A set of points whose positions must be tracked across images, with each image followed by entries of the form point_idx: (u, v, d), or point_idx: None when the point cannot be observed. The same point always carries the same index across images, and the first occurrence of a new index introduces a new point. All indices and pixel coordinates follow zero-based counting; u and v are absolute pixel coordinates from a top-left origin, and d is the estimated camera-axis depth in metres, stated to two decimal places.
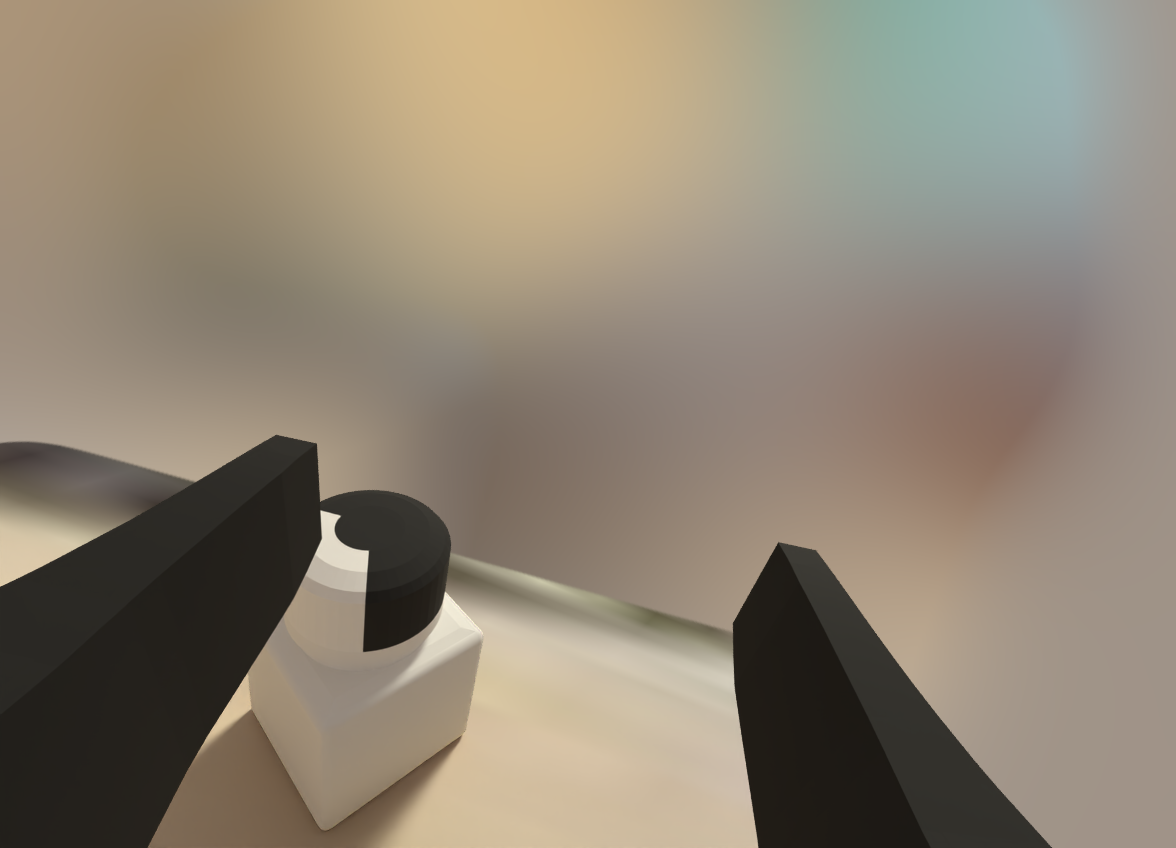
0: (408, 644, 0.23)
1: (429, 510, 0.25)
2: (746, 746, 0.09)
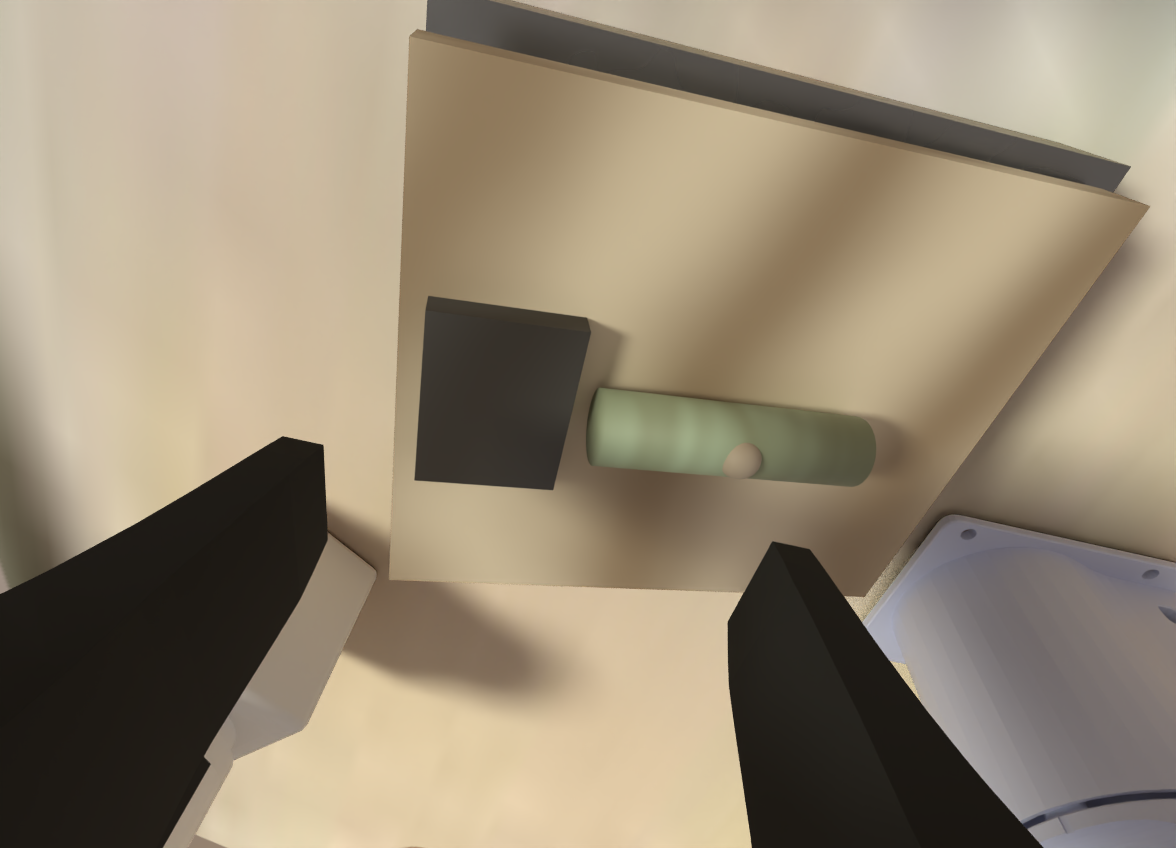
0: None
1: None
2: (740, 745, 0.09)
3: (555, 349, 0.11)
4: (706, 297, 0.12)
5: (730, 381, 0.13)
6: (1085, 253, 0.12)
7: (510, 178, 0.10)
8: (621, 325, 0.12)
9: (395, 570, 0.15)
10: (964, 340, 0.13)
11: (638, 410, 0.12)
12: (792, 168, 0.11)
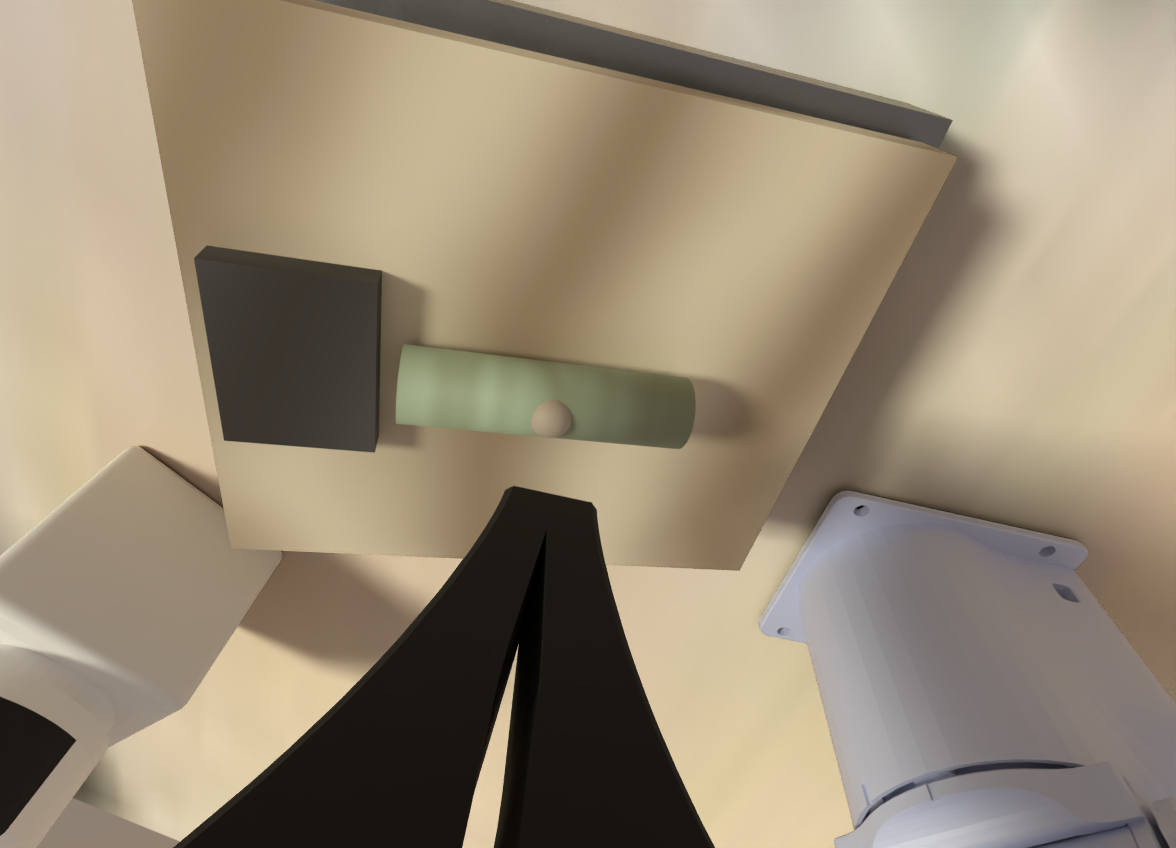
0: (39, 702, 0.18)
1: None
2: (513, 701, 0.09)
3: (343, 301, 0.11)
4: (504, 250, 0.12)
5: (549, 340, 0.13)
6: (899, 207, 0.12)
7: (268, 120, 0.10)
8: (420, 279, 0.12)
9: (235, 538, 0.15)
10: (790, 298, 0.13)
11: (435, 366, 0.12)
12: (567, 112, 0.10)
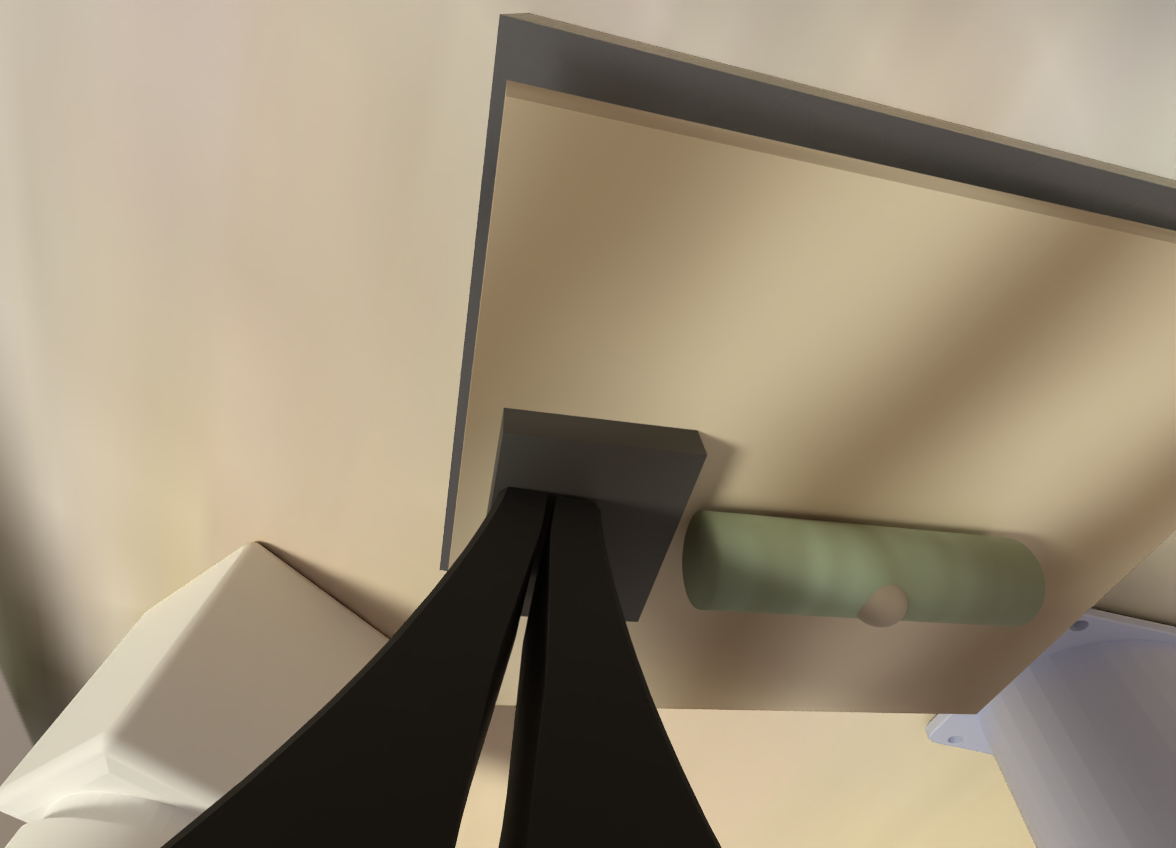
0: None
1: None
2: (517, 701, 0.09)
3: (660, 474, 0.09)
4: (847, 406, 0.09)
5: (861, 498, 0.11)
6: None
7: (620, 272, 0.08)
8: (738, 438, 0.10)
9: None
10: (1154, 451, 0.11)
11: (758, 547, 0.10)
12: (982, 257, 0.08)
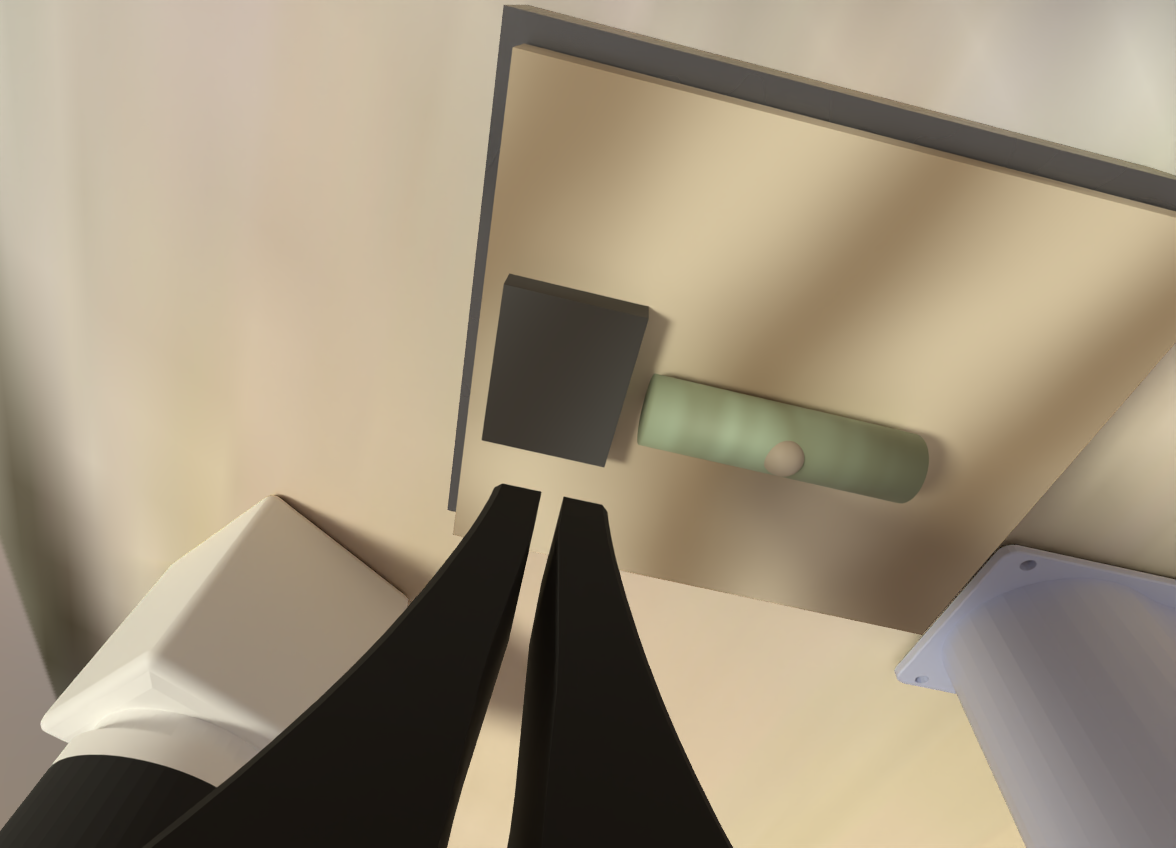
0: (216, 774, 0.17)
1: None
2: (524, 703, 0.09)
3: (615, 331, 0.13)
4: (764, 297, 0.13)
5: (784, 383, 0.14)
6: None
7: (588, 173, 0.11)
8: (680, 317, 0.13)
9: (459, 526, 0.17)
10: (1040, 367, 0.13)
11: (685, 396, 0.13)
12: (855, 178, 0.11)
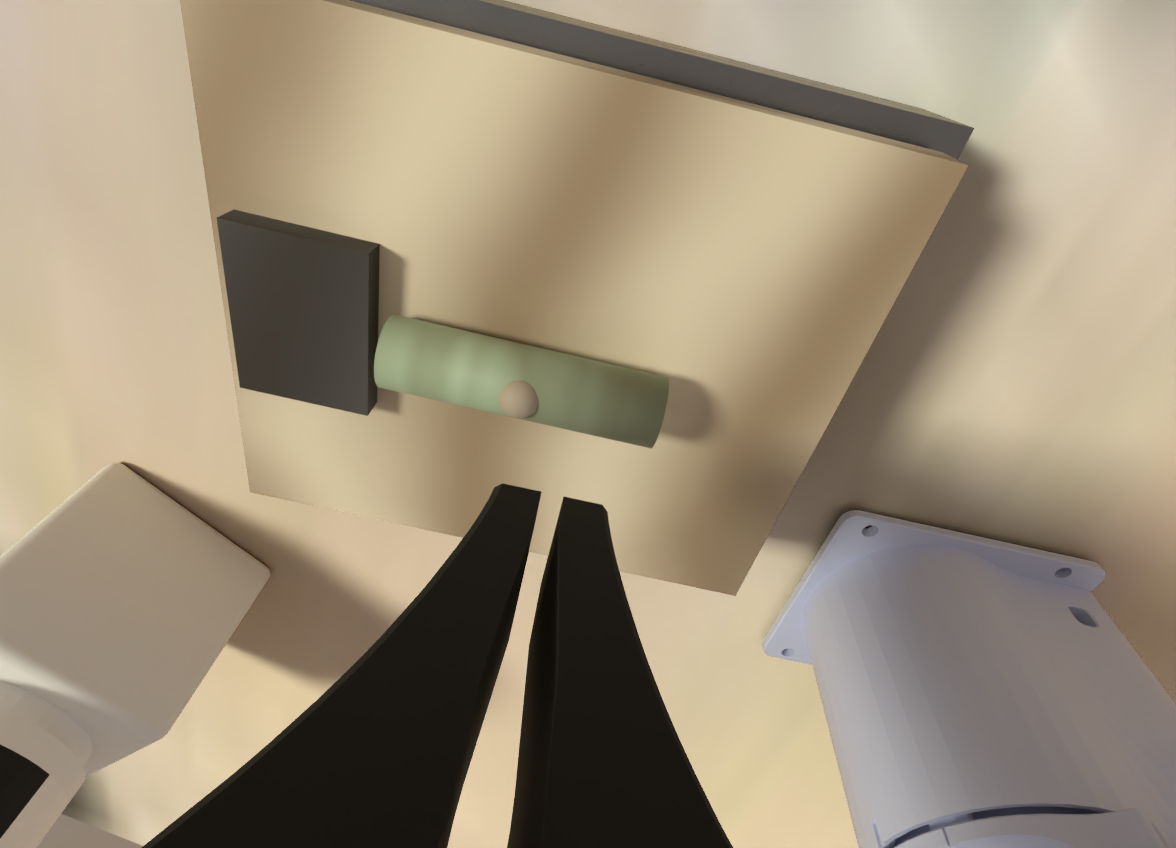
0: (9, 735, 0.17)
1: None
2: (524, 703, 0.09)
3: (339, 267, 0.12)
4: (490, 232, 0.12)
5: (533, 325, 0.13)
6: (901, 216, 0.11)
7: (284, 99, 0.11)
8: (413, 254, 0.13)
9: (254, 483, 0.17)
10: (780, 306, 0.13)
11: (414, 335, 0.12)
12: (548, 101, 0.11)
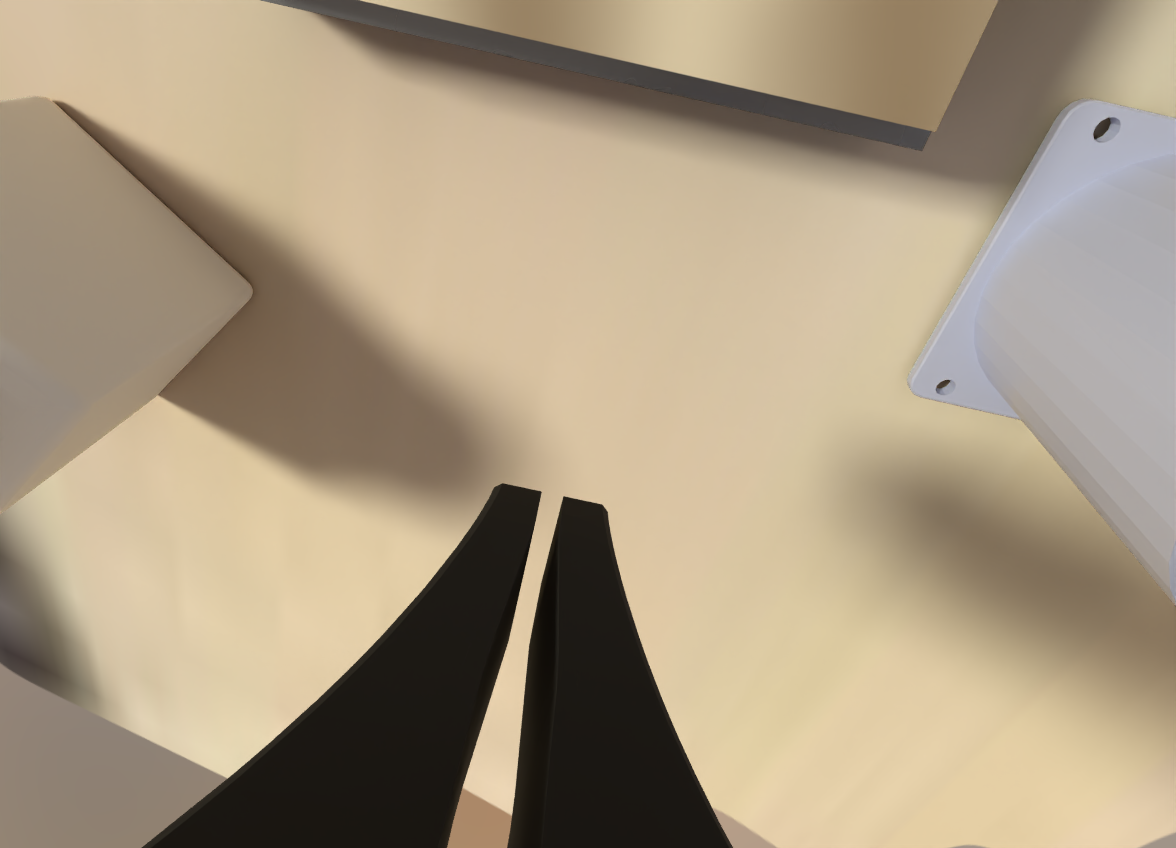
0: None
1: None
2: (524, 703, 0.09)
3: None
4: None
5: None
6: None
7: None
8: None
9: None
10: None
11: None
12: None
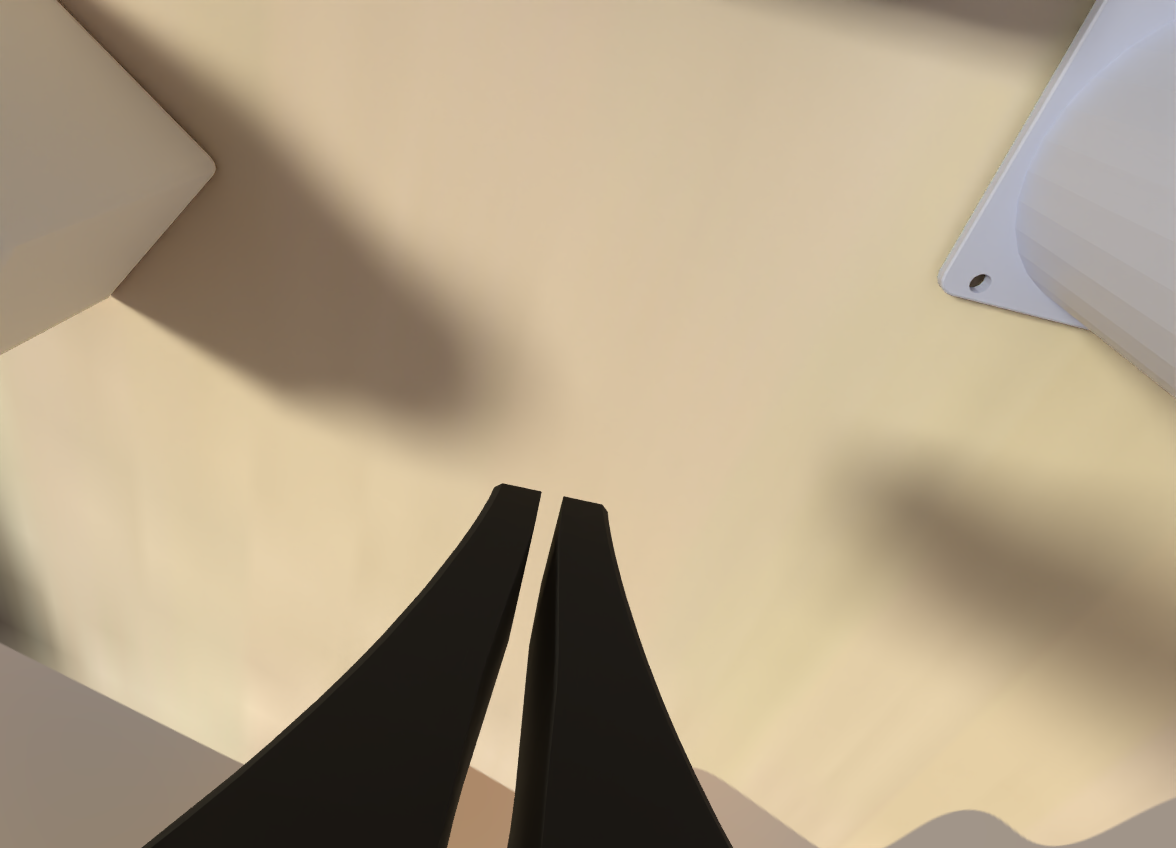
0: None
1: None
2: (524, 703, 0.09)
3: None
4: None
5: None
6: None
7: None
8: None
9: None
10: None
11: None
12: None
